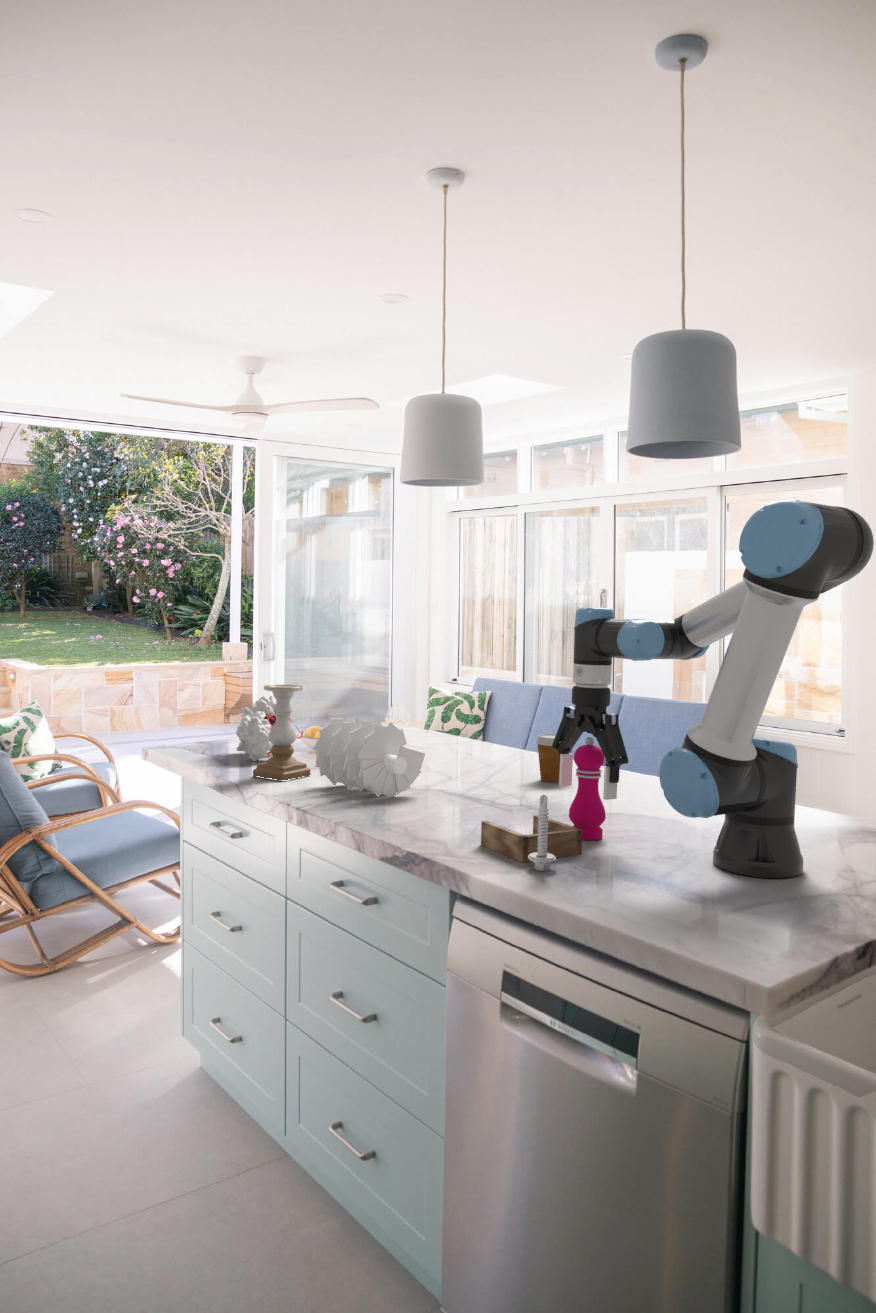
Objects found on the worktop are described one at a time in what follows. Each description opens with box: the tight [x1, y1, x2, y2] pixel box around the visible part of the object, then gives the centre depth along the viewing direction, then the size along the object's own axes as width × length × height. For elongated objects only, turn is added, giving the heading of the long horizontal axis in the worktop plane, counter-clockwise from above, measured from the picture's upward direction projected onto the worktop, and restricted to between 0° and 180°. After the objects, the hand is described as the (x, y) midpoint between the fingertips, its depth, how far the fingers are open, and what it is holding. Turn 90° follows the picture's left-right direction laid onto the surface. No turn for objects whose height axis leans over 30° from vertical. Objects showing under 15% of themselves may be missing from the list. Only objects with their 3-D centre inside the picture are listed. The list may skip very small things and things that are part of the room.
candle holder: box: [252, 684, 311, 780], centre depth 233 cm, size 11×11×24 cm
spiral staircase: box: [313, 714, 426, 798], centre depth 217 cm, size 18×18×25 cm
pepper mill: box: [568, 736, 607, 842], centre depth 176 cm, size 7×7×20 cm
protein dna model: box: [235, 695, 304, 762], centre depth 264 cm, size 20×18×25 cm
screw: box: [528, 794, 557, 872], centre depth 153 cm, size 13×5×5 cm
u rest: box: [480, 814, 583, 864], centre depth 166 cm, size 13×13×4 cm
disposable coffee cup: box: [535, 733, 570, 784], centre depth 237 cm, size 10×10×12 cm
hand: (586, 792), depth 176 cm, fingers open, 13 cm apart
